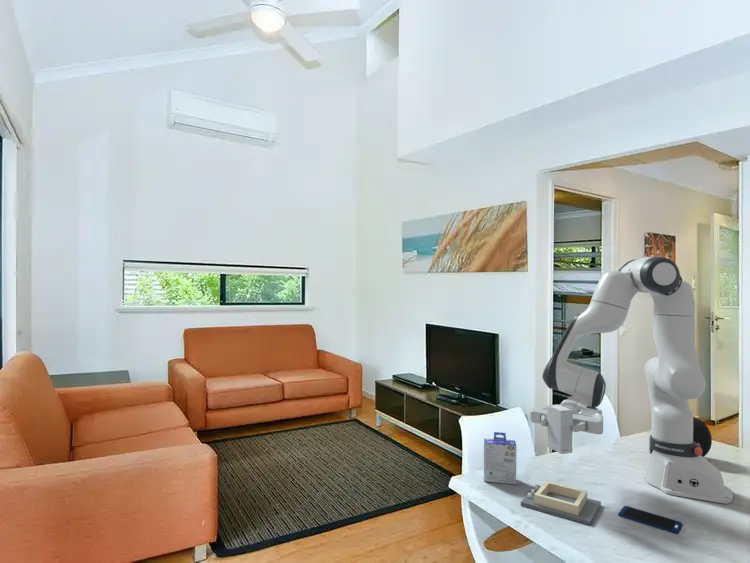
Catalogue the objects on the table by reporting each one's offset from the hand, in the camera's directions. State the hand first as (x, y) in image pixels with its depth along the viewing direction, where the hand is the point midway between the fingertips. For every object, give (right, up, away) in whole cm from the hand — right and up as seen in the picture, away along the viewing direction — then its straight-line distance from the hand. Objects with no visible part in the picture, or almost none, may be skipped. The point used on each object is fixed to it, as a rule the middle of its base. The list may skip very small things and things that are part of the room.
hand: (558, 426), depth 132 cm
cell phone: (+21, -23, -8) cm, 32 cm away
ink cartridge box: (-13, -22, +16) cm, 30 cm away
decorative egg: (+61, -23, +36) cm, 75 cm away
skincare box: (0, -7, +1) cm, 7 cm away
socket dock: (0, -22, -1) cm, 22 cm away
